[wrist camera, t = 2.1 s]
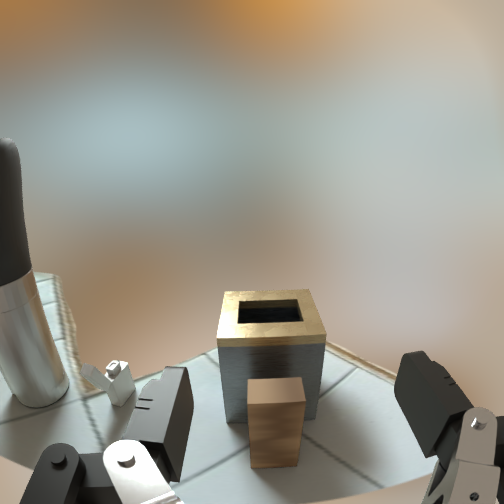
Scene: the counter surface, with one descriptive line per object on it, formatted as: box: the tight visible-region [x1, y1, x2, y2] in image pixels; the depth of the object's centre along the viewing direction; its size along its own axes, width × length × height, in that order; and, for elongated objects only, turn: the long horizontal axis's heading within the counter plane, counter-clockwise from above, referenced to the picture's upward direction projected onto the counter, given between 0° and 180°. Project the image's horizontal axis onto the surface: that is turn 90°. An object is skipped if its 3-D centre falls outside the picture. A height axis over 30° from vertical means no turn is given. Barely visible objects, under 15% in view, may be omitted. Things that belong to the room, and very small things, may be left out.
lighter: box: [80, 360, 136, 407], centre depth 32 cm, size 7×2×8 cm, turn 169°
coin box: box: [217, 289, 326, 423], centre depth 34 cm, size 10×10×12 cm
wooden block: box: [247, 377, 306, 468], centre depth 25 cm, size 4×3×10 cm, turn 90°
